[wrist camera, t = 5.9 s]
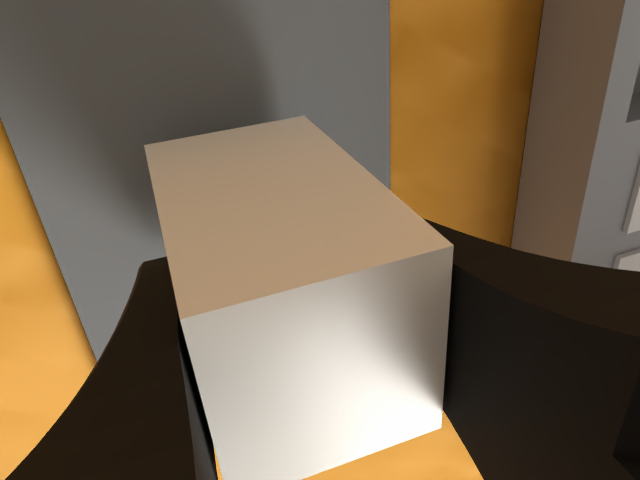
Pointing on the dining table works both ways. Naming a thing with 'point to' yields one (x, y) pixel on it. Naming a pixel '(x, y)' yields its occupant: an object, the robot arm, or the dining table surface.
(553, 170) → the power strip
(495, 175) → the dining table surface
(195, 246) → the plug
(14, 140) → the rubber mat
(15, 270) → the dining table surface
